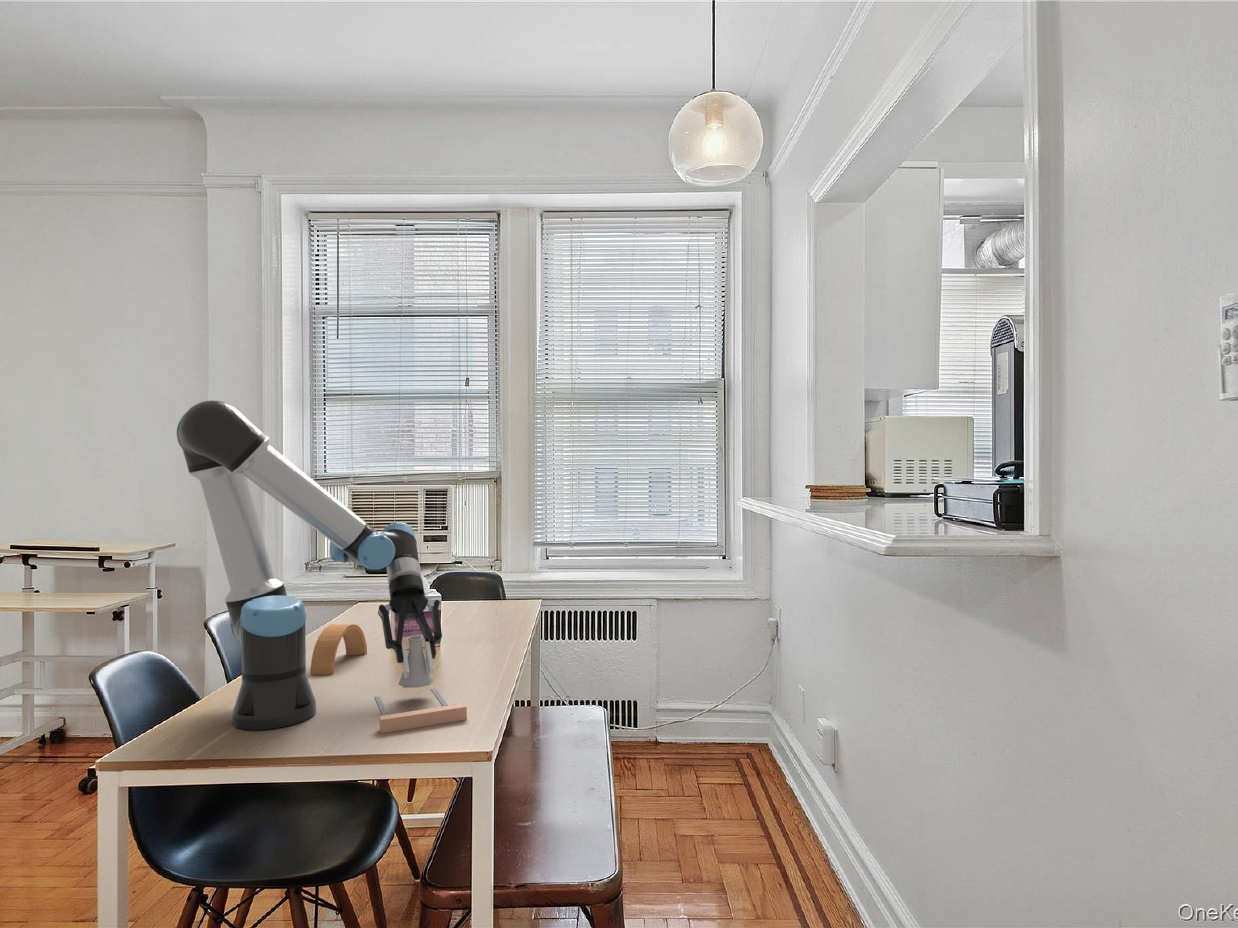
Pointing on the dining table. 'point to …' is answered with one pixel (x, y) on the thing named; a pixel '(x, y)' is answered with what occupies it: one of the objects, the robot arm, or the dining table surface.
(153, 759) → the dining table surface
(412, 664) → the flask
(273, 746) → the dining table surface
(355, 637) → the arch
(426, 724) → the stop bar lane
